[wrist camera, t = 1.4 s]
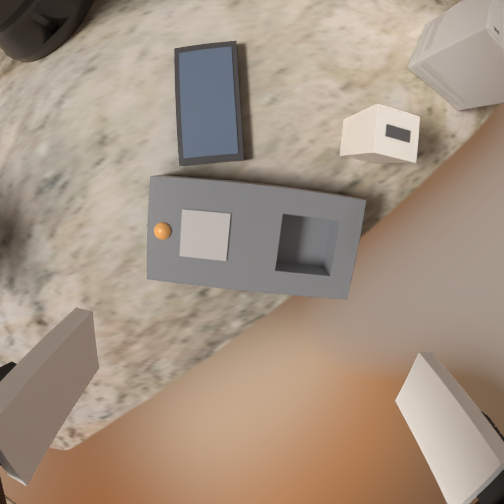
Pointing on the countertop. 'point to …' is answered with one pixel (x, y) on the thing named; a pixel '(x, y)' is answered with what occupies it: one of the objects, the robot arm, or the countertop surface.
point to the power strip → (252, 236)
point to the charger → (381, 135)
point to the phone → (208, 104)
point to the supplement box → (464, 54)
